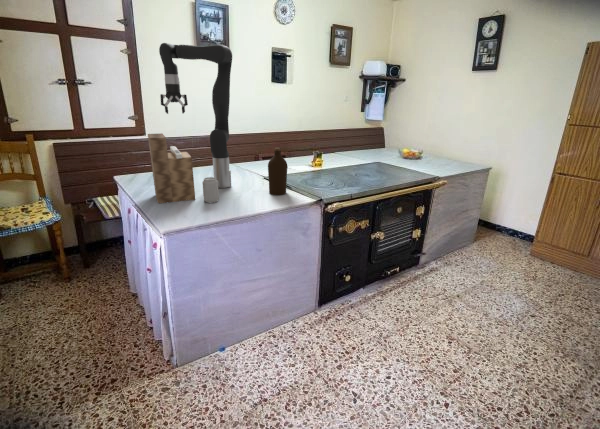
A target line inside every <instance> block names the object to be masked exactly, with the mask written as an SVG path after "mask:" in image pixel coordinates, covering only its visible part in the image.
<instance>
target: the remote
mask: <svg viewBox="0 0 600 429" xmlns="http://www.w3.org/2000/svg"><path fill="white" fill-rule="evenodd" d="M169 148H170V149H169V150H170V153H173V154H174V156H175V157H176V158H177V159H179V158H182V154H181V153H180V152H181V151H180V150H179V149H178V148H177V147H176V146H175V145H174V146H173V145H171V146H169Z"/></svg>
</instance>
